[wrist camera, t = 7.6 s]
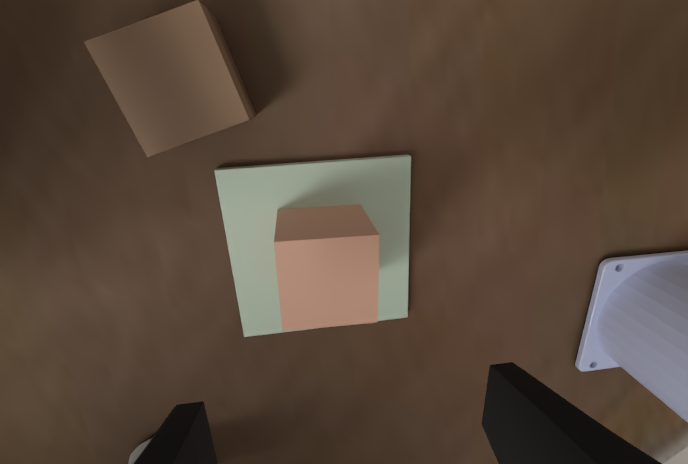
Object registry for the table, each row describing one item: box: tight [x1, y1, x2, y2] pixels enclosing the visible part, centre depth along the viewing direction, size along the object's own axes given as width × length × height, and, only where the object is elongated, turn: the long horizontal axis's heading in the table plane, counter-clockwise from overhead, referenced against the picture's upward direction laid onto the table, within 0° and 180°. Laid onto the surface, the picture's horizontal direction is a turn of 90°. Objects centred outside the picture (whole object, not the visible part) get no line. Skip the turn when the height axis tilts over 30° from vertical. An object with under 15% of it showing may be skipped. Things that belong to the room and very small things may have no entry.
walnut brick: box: [84, 0, 256, 157], centre depth 14 cm, size 4×4×3 cm
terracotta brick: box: [274, 205, 379, 331], centre depth 16 cm, size 4×4×4 cm
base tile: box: [214, 155, 411, 337], centre depth 19 cm, size 9×9×1 cm
